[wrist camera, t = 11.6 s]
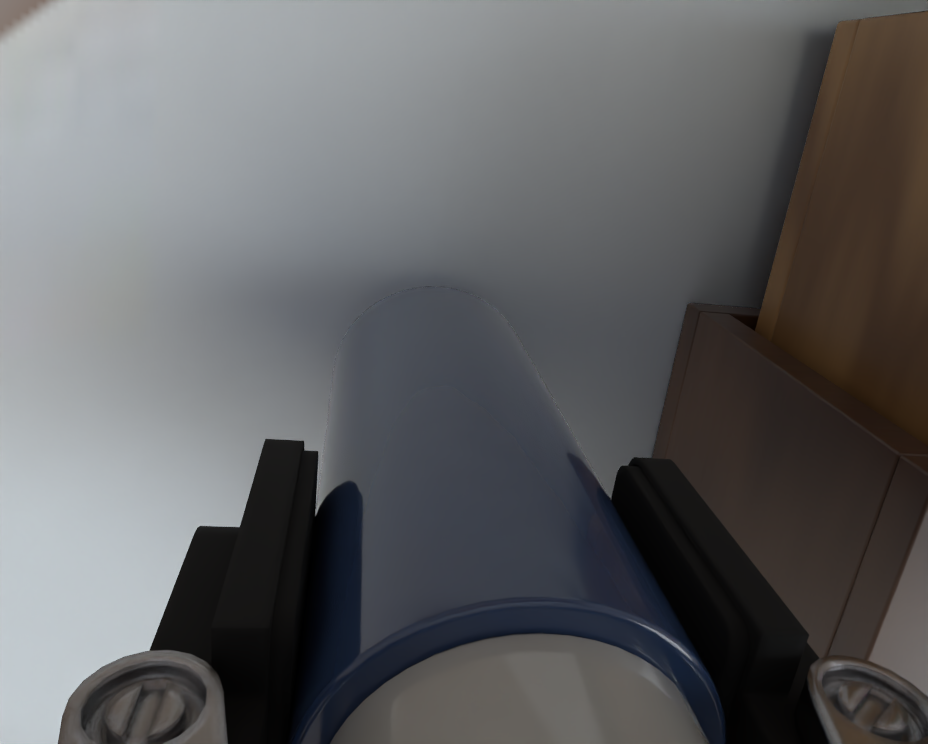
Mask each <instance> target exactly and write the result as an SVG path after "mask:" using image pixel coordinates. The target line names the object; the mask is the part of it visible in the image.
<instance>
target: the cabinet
mask: <svg viewBox="0 0 928 744" xmlns="http://www.w3.org/2000/svg"><path fill="white" fill-rule="evenodd" d="M760 310H761V309H758V308H746V307H734V306H722V305H710V304H698V303H688V304H687V309H686V313H685V317H684V322H683V326H682V330H681V335H680V339H679V343H678V347H677V352H676V356H675V360H674V365H673V369H672V373H671V378H670V382H669V386H668V391H667V395H666V399H665V404H664V408H663V412H662V417H661V421H660V425H659V430H658V434H657V438H656V442H655V447H654V451H653V455H652V458H658V459H671V460H672V461H673V462H674V463H675V464H676V465H677V467H678V468H679V469H680V471H681V472H682V473H683V474H684V476H685V477H686V478H687V480H688V481H689V482H690V483H691V485H692V486H693V487H694V488H695V490H696V491H697V492H698V494H699V495H700V496H701V497H702V499H703V500H704V501H705V502H706V504H707V505H708V506H709V508H710V509H711V510H712V511H713V513H714V514H715V515H716V516H717V518H718V519H719V520H720V522H721V523H722V524H723V525H724V527H725V528H726V529H727V530H728V532H729V533H730V534H731V536H732V537H733V538H734V539H735V541H736V542H737V543H738V545H739V546H740V547H741V548H742V550H743V551H744V552H745V553H746V555H747V556H748V557H749V559H750V560H751V561H752V562H753V564H754V565H755V566H756V567H757V569H758V570H759V571H760V573H761V574H762V575H763V576H764V578H765V579H766V580H767V581H768V583H769V584H770V585H771V587H772V588H773V589H774V590H775V592H776V593H777V594H778V595H779V597H780V598H781V599H782V601H783V602H784V603H785V604H786V606H787V607H788V608H789V610H790V611H791V612H792V613H793V615H794V616H795V617H796V618H797V620H798V621H799V622H800V624H801V625H802V626H803V627H804V629H805V630H806V631H807V632H808V634H809V637H808V640H807V643H808V644H809V645H810V647H811V648H812V649H813V650H814V652H815V653H816V654H817V656H818V657H819V658H823V657H827V656H832V655H840V656H852V657H856V658H860V659H864V660H867V661H871V662H874V663H876V664H878V665H880V666H883V667H885V668H887V669H890V670H892V671H893V672H895V673H897V674H898V675H900V676H901V677H903V678H905V679H906V680H908V681H910V682H911V683H912V684H914V685H915V686H916V687H917V688H918V689H919V690H921V691H922V692H923V693H924V694H925V695H926V696H928V446H927V445H926V444H924V443H923V442H921V441H920V440H918V439H917V438H915V437H914V436H912V435H911V434H909V433H908V432H906V431H905V430H903V429H902V428H900V427H899V426H897V425H896V424H894V423H892V422H891V421H889V420H888V419H886V418H885V417H883V416H882V415H880V414H879V413H877V412H876V411H874V410H873V409H871V408H870V407H868V406H867V405H865V404H864V403H862V402H861V401H859V400H858V399H856V398H855V397H853V396H852V395H850V394H849V393H847V392H846V391H844V390H843V389H841V388H840V387H838V386H837V385H835V384H834V383H832V382H831V381H829V380H828V379H826V378H825V377H823V376H822V375H820V374H819V373H817V372H816V371H814V370H813V369H811V368H810V367H808V366H807V365H805V364H804V363H802V362H801V361H799V360H797V359H796V358H794V357H793V356H791V355H790V354H788V353H787V352H785V351H784V350H782V349H781V348H779V347H778V346H776V345H775V344H773V343H772V342H770V341H769V340H767V339H766V338H764V337H763V336H761V335H760V334H758V333H757V332H755V329H756V325H757V321H758V318H759V314H760Z"/></svg>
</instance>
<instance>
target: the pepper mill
mask: <svg viewBox="0 0 928 744" xmlns="http://www.w3.org/2000/svg"><path fill="white" fill-rule="evenodd" d="M726 742H727V734H726V724H725V714H724V710H723V706H722V703H721V699H720V696H719V692H718V690H717V688H716V686H715V684H714V682H713V680H712V678H711V676H710V674H709V672H708V671H707V669H706V667H705V665H704V664H703V662H702V660H701V658H700V656H699V655H698V653H697V651H696V649H695V648H694V646H693V644H692V642H691V641H690V639H689V637H688V635H687V634H686V632H685V630H684V628H683V626H682V625H681V623H680V621H679V619H678V618H677V616H676V614H675V612H674V611H673V609H672V607H671V605H670V604H669V602H668V600H667V598H666V597H665V595H664V593H663V591H662V589H661V588H660V586H659V584H658V582H657V581H656V579H655V577H654V575H653V574H652V572H651V570H650V568H649V567H648V565H647V563H646V561H645V560H644V558H643V556H642V554H641V552H640V551H639V549H638V547H637V545H636V544H635V542H634V540H633V538H632V537H631V535H630V533H629V531H628V530H627V528H626V526H625V524H624V522H623V521H622V519H621V517H620V515H619V514H618V512H617V510H616V508H615V507H614V505H613V503H612V501H611V500H610V498H609V496H608V494H607V493H606V491H605V489H604V487H603V485H602V484H601V482H600V480H599V478H598V477H597V475H596V473H595V471H594V470H593V468H592V466H591V464H590V463H589V461H588V459H587V457H586V456H585V454H584V452H583V450H582V448H581V447H580V445H579V443H578V441H577V440H576V438H575V436H574V434H573V433H572V431H571V429H570V427H569V426H568V424H567V422H566V420H565V418H564V417H563V415H562V413H561V411H560V410H559V408H558V406H557V404H556V403H555V401H554V399H553V397H552V396H551V394H550V392H549V390H548V389H547V387H546V385H545V383H544V381H543V380H542V378H541V376H540V374H539V373H538V371H537V369H536V367H535V366H534V364H533V362H532V360H531V359H530V357H529V355H528V353H527V352H526V350H525V348H524V346H523V344H522V343H521V341H520V339H519V337H518V336H517V334H516V332H515V330H514V329H513V328H512V326H511V325H510V323H509V322H508V320H507V319H506V318H505V317H504V316H503V315H502V314H501V313H500V312H499V311H498V310H497V309H495V308H494V307H493V306H492V305H490V304H489V303H487V302H486V301H484V300H482V299H481V298H479V297H477V296H474V295H472V294H470V293H468V292H464V291H461V290H457V289H453V288H447V287H430V286H428V287H418V288H412V289H408V290H404V291H400V292H398V293H395V294H393V295H390V296H388V297H386V298H384V299H382V300H380V301H378V302H377V303H375V304H374V305H373V306H371V307H370V308H368V309H367V310H366V311H365V312H364V313H363V314H362V315H361V316H359V317H358V318H357V320H356V321H355V322H354V323H353V324H352V326H351V327H350V328H349V330H348V331H347V333H346V335H345V336H344V338H343V339H342V342H341V344H340V346H339V349H338V351H337V355H336V358H335V362H334V369H333V377H332V385H331V393H330V401H329V409H328V417H327V425H326V433H325V441H324V449H323V457H322V465H321V473H320V481H319V489H318V497H317V505H316V514H315V522H314V530H313V538H312V546H311V554H310V562H309V570H308V578H307V586H306V594H305V602H304V611H303V619H302V627H301V635H300V643H299V651H298V659H297V667H296V675H295V683H294V691H293V699H292V707H291V715H290V723H289V731H288V739H287V744H726Z"/></svg>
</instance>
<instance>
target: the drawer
mask: <svg viewBox="0 0 928 744" xmlns="http://www.w3.org/2000/svg"><path fill="white" fill-rule="evenodd" d="M755 332H757V333H758V334H760V335H761V336H763V337H764V338H766V339H767V340H769V341H770V342H772V343H773V344H775V345H776V346H778V347H779V348H781V349H782V350H784V351H785V352H787V353H788V354H790V355H791V356H793V357H794V358H796V359H797V360H799V361H801V362H802V363H804V364H805V365H807V366H808V367H810V368H811V369H813V370H814V371H816V372H817V373H819V374H820V375H822V376H823V377H825V378H826V379H828V380H829V381H831V382H832V383H834V384H835V385H837V386H838V387H840V388H841V389H843V390H844V391H846V392H847V393H849V394H850V395H852V396H853V397H855V398H856V399H858V400H859V401H861V402H862V403H864V404H865V405H867V406H868V407H870V408H871V409H873V410H874V411H876V412H877V413H879V414H880V415H882V416H883V417H885V418H886V419H888V420H889V421H891V422H892V423H894V424H896V425H897V426H899V427H900V428H902V429H903V430H905V431H906V432H908V433H909V434H911V435H912V436H914V437H915V438H917V439H918V440H920V441H921V442H923V443H924V444H926V445H927V446H928V11H922V12H913V13H905V14H896V15H887V16H879V17H870V18H863V19H855V20H846V21H841V22H839V23H838V25H837V27H836V31H835V35H834V39H833V42H832V46H831V50H830V54H829V57H828V61H827V65H826V68H825V72H824V76H823V80H822V83H821V87H820V91H819V94H818V98H817V102H816V106H815V109H814V113H813V117H812V120H811V124H810V128H809V132H808V135H807V139H806V143H805V147H804V150H803V154H802V158H801V161H800V165H799V169H798V173H797V176H796V180H795V184H794V187H793V191H792V195H791V199H790V202H789V206H788V210H787V213H786V217H785V221H784V225H783V228H782V232H781V236H780V239H779V243H778V247H777V251H776V254H775V258H774V262H773V266H772V269H771V273H770V277H769V280H768V284H767V288H766V292H765V295H764V299H763V303H762V306H761V310H760V314H759V318H758V321H757V325H756V329H755Z"/></svg>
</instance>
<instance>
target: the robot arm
mask: <svg viewBox="0 0 928 744" xmlns="http://www.w3.org/2000/svg"><path fill="white" fill-rule="evenodd" d="M317 469H318V451H304V441H295V440H274V439H265V442H264V445H263V449H262V452H261V456H260V459H259V463H258V466H257V470H256V473H255V477H254V480H253V484H252V487H251V491H250V494H249V498H248V501H247V504H246V508H245V511H244V515H243V518H242V522H241V525H240V527H212V526H200V527H198V528H197V530H196V532H195V534H194V536H193V539H192V541H191V544H190V546H189V549H188V552H187V554H186V557H185V559H184V562H183V565H182V567H181V570H180V572H179V575H178V578H177V580H176V583H175V586H174V588H173V591H172V593H171V596H170V599H169V601H168V604H167V606H166V609H165V612H164V614H163V617H162V619H161V622H160V625H159V627H158V630H157V632H156V635H155V638H154V640H153V643H152V646H151V648H150V651H145V652H141V653H137V654H133V655H129V656H125V657H123V658H120V659H118V660H116V661H114V662H112V663H110V664H107V665H105V666H103V667H101V668H100V669H99V670H97V671H96V672H95V673H93V674H92V675H91V676H89V677H88V678H87V679H85V680H84V681H83V682H82V683H81V684H80V686H79V687H78V688H77V689H76V690H75V692H74V693H73V694H72V695H71V697H70V698H69V700H68V703H67V705H66V708H65V711H64V713H63V716H62V721H61V728H60V734H59V740H58V744H287V739H288V731H289V723H290V715H291V707H292V699H293V691H294V683H295V675H296V667H297V659H298V651H299V643H300V635H301V627H302V619H303V611H304V602H305V594H306V586H307V578H308V570H309V562H310V554H311V546H312V538H313V530H314V522H315V509H316V489H317ZM611 501H612V503H613V505H614V507H615V508H616V510H617V512H618V514H619V515H620V517H621V519H622V521H623V522H624V524H625V526H626V528H627V530H628V531H629V533H630V535H631V537H632V538H633V540H634V542H635V544H636V545H637V547H638V549H639V551H640V552H641V554H642V556H643V558H644V560H645V561H646V563H647V565H648V567H649V568H650V570H651V572H652V574H653V575H654V577H655V579H656V581H657V582H658V584H659V586H660V588H661V589H662V591H663V593H664V595H665V597H666V598H667V600H668V602H669V604H670V605H671V607H672V609H673V611H674V612H675V614H676V616H677V618H678V619H679V621H680V623H681V625H682V626H683V628H684V630H685V632H686V634H687V635H688V637H689V639H690V641H691V642H692V644H693V646H694V648H695V649H696V651H697V653H698V655H699V656H700V658H701V660H702V662H703V664H704V665H705V667H706V669H707V671H708V672H709V674H710V676H711V678H712V680H713V682H714V684H715V686H716V688H717V690H718V692H719V696H720V699H721V703H722V706H723V710H724V714H725V724H726V734H727V742H726V744H928V696H926V695H925V694H924V693H923V692H922V691H921V690H919V689H918V688H917V687H916V686H915V685H914V684H912V683H911V682H910V681H908V680H906V679H905V678H903V677H901V676H900V675H898V674H897V673H895V672H893V671H892V670H890V669H887V668H885V667H883V666H880V665H878V664H876V663H874V662H871V661H867V660H864V659H860V658H856V657H852V656H840V655H832V656H827V657H823V658H819V657H818V656H817V654H816V653H815V652H814V650H813V649H812V648H811V647H810V645H809V644H808V643H807V640H808V637H809V634H808V632H807V631H806V630H805V629H804V627H803V626H802V625H801V624H800V622H799V621H798V620H797V618H796V617H795V616H794V615H793V613H792V612H791V611H790V610H789V608H788V607H787V606H786V604H785V603H784V602H783V601H782V599H781V598H780V597H779V595H778V594H777V593H776V592H775V590H774V589H773V588H772V587H771V585H770V584H769V583H768V581H767V580H766V579H765V578H764V576H763V575H762V574H761V573H760V571H759V570H758V569H757V567H756V566H755V565H754V564H753V562H752V561H751V560H750V559H749V557H748V556H747V555H746V553H745V552H744V551H743V550H742V548H741V547H740V546H739V545H738V543H737V542H736V541H735V539H734V538H733V537H732V536H731V534H730V533H729V532H728V530H727V529H726V528H725V527H724V525H723V524H722V523H721V522H720V520H719V519H718V518H717V516H716V515H715V514H714V513H713V511H712V510H711V509H710V508H709V506H708V505H707V504H706V502H705V501H704V500H703V499H702V497H701V496H700V495H699V494H698V492H697V491H696V490H695V488H694V487H693V486H692V485H691V483H690V482H689V481H688V480H687V478H686V477H685V476H684V474H683V473H682V472H681V471H680V469H679V468H678V467H677V465H676V464H675V463H674V462H673V461H672V460H671V459H658V458H638V457H634V458H633V459H632V460H631V461H630V463H629V465H628V466H621V467H620V468H619V470H618V472H617V475H616V480H615V484H614V489H613V494H612V498H611Z"/></svg>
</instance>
